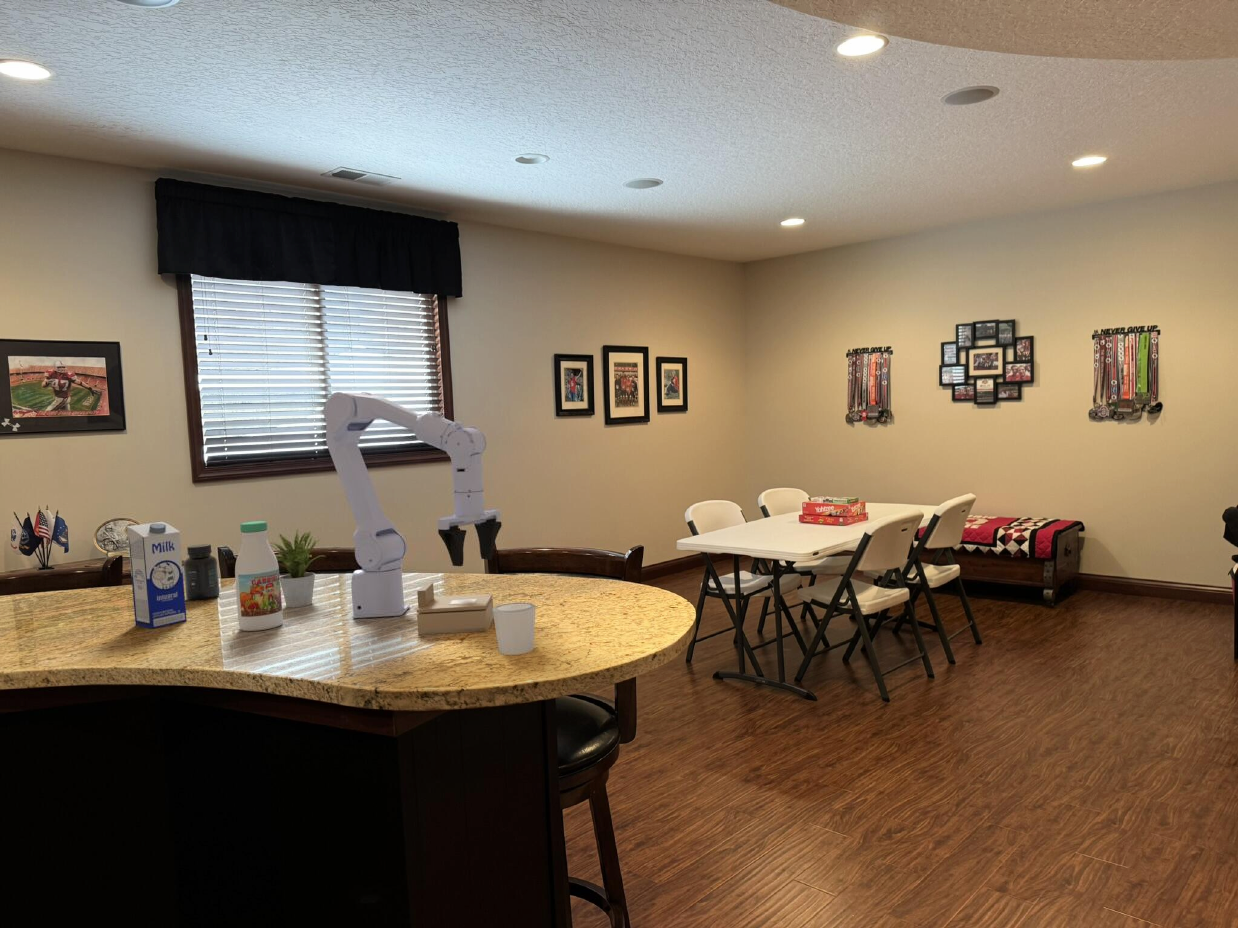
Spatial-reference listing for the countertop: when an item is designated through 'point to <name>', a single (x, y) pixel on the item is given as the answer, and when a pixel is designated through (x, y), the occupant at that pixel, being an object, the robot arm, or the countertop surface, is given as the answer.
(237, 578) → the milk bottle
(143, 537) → the milk carton
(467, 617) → the mailer
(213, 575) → the supplement bottle
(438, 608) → the lid
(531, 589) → the countertop surface
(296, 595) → the house plant
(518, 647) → the white cup
